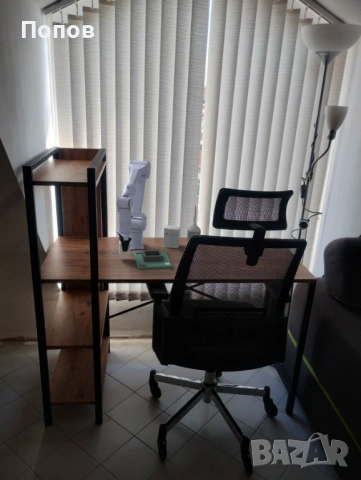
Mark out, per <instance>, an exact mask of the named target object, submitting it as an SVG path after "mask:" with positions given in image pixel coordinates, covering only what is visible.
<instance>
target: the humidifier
mask: <svg viewBox="0 0 361 480" xmlns="http://www.w3.org/2000/svg"><path fill="white" fill-rule="evenodd" d="M199 214H200V213H199V212H198V216H199ZM196 218H197V205H196V204H195V205H194V215H193V224H192V225H190V226H189V227H188V228H187V232H186V233H187V234H186V243H187V242H188V240H189V238H190V237H191V236H192V235H195V234H196V235H201V236H202V231H201V228H200V227H199V225H198V224H196ZM199 218H200V217H198V220H199ZM186 246H187V245H185V247H186Z"/></svg>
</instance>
